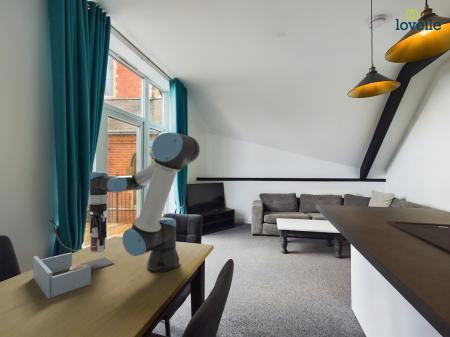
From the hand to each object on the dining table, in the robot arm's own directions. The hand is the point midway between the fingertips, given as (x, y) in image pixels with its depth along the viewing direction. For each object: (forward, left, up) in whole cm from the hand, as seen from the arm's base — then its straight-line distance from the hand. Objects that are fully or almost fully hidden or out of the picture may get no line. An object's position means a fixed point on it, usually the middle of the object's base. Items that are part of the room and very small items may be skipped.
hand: (97, 250), depth 112 cm
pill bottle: (0, 0, -1) cm, 1 cm away
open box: (-6, +16, -7) cm, 19 cm away
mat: (0, 0, -7) cm, 7 cm away
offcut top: (-6, +10, -5) cm, 13 cm away
